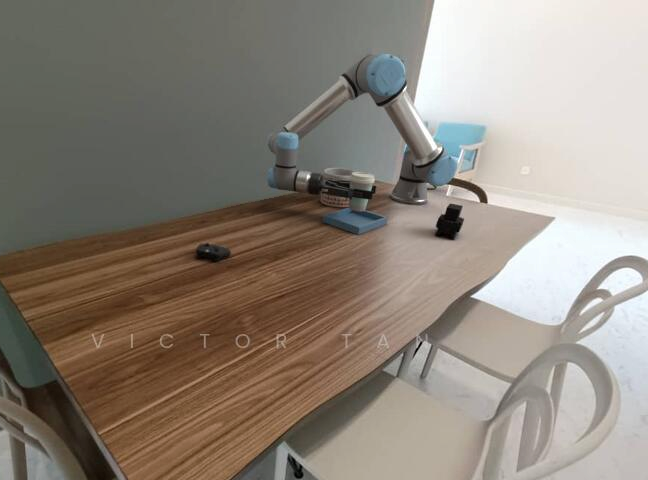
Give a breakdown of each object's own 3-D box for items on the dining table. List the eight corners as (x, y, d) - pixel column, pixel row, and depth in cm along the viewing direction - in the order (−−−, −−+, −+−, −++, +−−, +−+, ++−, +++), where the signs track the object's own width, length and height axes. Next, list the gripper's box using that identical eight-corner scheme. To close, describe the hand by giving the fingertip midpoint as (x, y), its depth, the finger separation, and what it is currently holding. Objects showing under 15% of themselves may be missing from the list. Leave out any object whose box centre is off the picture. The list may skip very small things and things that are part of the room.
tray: (351, 212, 152) (352, 206, 151) (386, 224, 143) (387, 217, 142) (322, 221, 142) (323, 214, 140) (358, 234, 132) (359, 227, 131)
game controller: (232, 251, 113) (226, 242, 107) (227, 268, 111) (220, 260, 106) (202, 245, 115) (194, 236, 109) (196, 262, 114) (188, 254, 108)
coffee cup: (371, 207, 142) (377, 174, 135) (365, 214, 135) (372, 178, 129) (348, 203, 144) (353, 170, 138) (341, 209, 138) (347, 174, 132)
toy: (462, 229, 143) (470, 202, 138) (455, 241, 132) (464, 212, 127) (440, 224, 146) (448, 198, 141) (432, 235, 135) (440, 207, 130)
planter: (320, 197, 169) (324, 166, 162) (352, 200, 168) (357, 169, 161) (319, 206, 157) (323, 174, 151) (354, 209, 156) (359, 177, 149)
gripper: (315, 187, 151) (375, 196, 145) (301, 200, 135) (368, 211, 129) (318, 167, 147) (379, 175, 141) (303, 178, 131) (372, 188, 125)
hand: (374, 192), depth 135 cm, fingers closed on coffee cup, 8 cm apart
